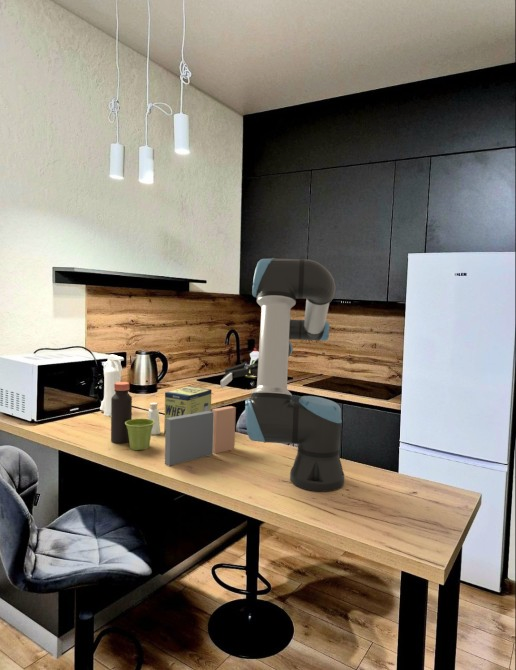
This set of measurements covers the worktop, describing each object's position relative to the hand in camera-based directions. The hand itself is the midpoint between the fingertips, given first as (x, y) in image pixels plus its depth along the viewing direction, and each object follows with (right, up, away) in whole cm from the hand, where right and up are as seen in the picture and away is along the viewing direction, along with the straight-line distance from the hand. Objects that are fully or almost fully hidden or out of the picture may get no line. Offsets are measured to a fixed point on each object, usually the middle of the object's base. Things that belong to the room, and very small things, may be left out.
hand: (238, 389), depth 160 cm
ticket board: (-15, -20, -11) cm, 28 cm away
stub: (-5, -20, -2) cm, 20 cm away
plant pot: (-33, -19, -2) cm, 38 cm away
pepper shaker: (-32, -18, +15) cm, 40 cm away
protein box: (-20, -18, +19) cm, 32 cm away
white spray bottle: (-55, -15, +40) cm, 69 cm away
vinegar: (-41, -18, +5) cm, 45 cm away
